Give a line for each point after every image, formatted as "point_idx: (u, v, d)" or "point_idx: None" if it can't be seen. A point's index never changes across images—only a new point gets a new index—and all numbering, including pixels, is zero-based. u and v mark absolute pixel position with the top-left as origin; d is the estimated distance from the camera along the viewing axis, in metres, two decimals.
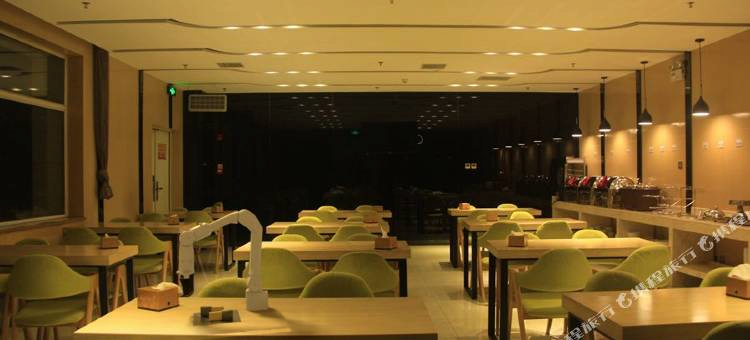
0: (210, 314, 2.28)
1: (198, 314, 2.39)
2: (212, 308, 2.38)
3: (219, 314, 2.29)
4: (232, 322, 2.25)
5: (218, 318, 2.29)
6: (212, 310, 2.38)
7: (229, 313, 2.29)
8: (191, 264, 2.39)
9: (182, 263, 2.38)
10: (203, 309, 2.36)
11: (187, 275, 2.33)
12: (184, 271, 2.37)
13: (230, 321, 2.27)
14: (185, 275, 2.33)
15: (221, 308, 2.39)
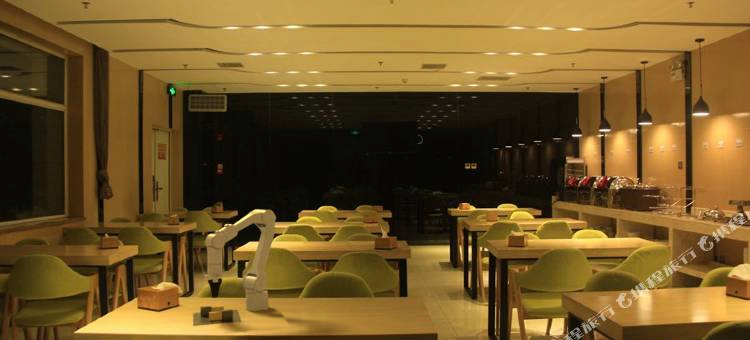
0: (210, 314, 2.28)
1: (198, 314, 2.39)
2: (212, 308, 2.38)
3: (219, 314, 2.29)
4: (232, 322, 2.25)
5: (218, 318, 2.29)
6: (212, 310, 2.38)
7: (229, 313, 2.29)
8: (220, 268, 2.33)
9: (211, 266, 2.32)
10: (203, 309, 2.36)
11: (216, 279, 2.28)
12: (213, 275, 2.32)
13: (230, 321, 2.27)
14: (214, 279, 2.28)
15: (221, 308, 2.39)
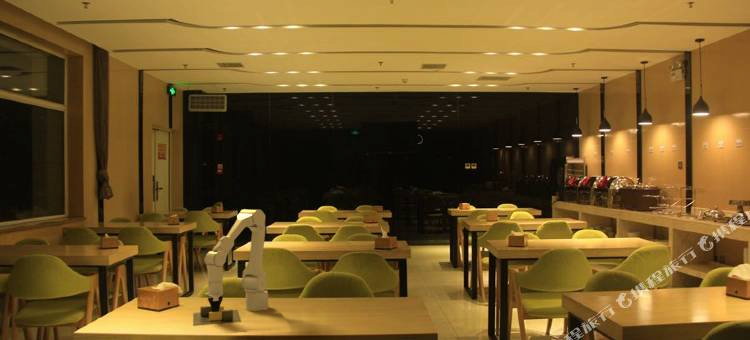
0: (210, 314, 2.28)
1: (198, 314, 2.39)
2: None
3: (219, 314, 2.29)
4: (232, 322, 2.25)
5: (218, 318, 2.29)
6: None
7: (229, 313, 2.29)
8: (220, 285, 2.30)
9: (211, 285, 2.28)
10: (203, 309, 2.36)
11: (217, 297, 2.24)
12: (213, 293, 2.28)
13: (230, 321, 2.27)
14: (214, 297, 2.24)
15: (221, 308, 2.39)
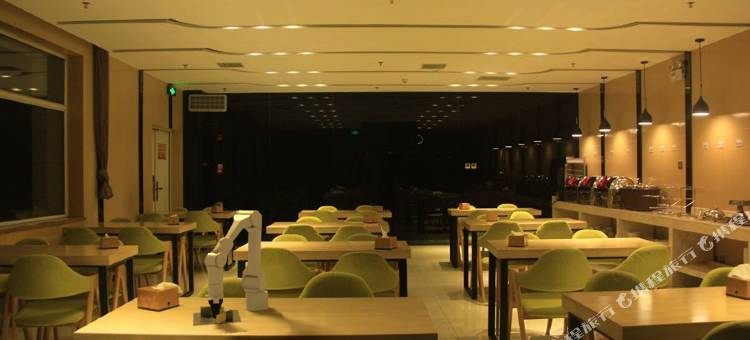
0: (219, 316, 2.24)
1: (198, 314, 2.39)
2: None
3: (224, 315, 2.28)
4: (232, 322, 2.25)
5: (224, 319, 2.27)
6: None
7: (232, 312, 2.31)
8: (220, 287, 2.26)
9: (211, 286, 2.24)
10: (203, 309, 2.36)
11: (217, 300, 2.20)
12: (213, 295, 2.24)
13: (230, 321, 2.27)
14: (215, 300, 2.20)
15: (221, 308, 2.39)
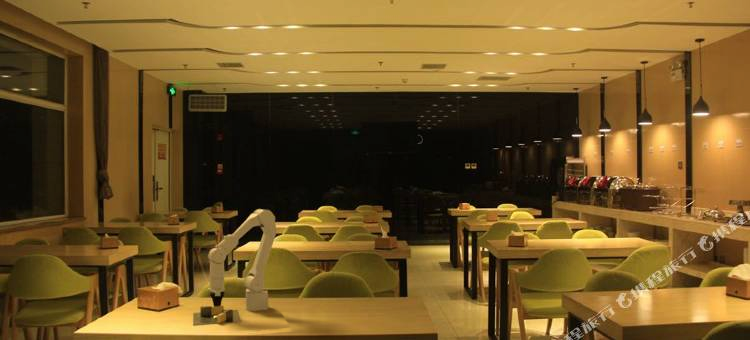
0: (220, 316, 2.24)
1: (198, 314, 2.39)
2: (212, 308, 2.38)
3: (225, 315, 2.28)
4: (232, 322, 2.25)
5: (224, 319, 2.27)
6: (212, 310, 2.38)
7: (232, 312, 2.31)
8: (222, 281, 2.39)
9: (213, 280, 2.38)
10: (203, 309, 2.36)
11: (218, 293, 2.34)
12: (215, 288, 2.38)
13: (230, 321, 2.27)
14: (216, 293, 2.33)
15: (221, 308, 2.39)
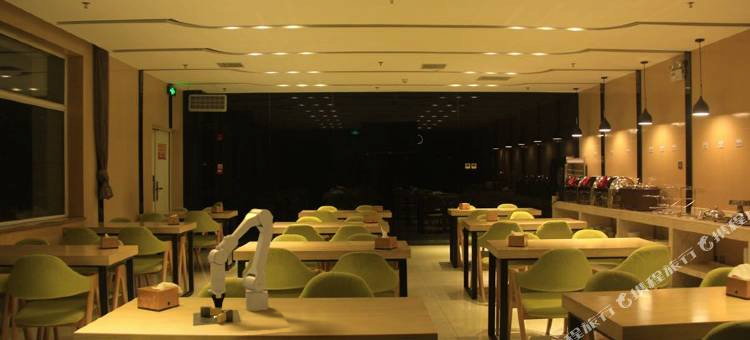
0: (220, 316, 2.24)
1: (198, 314, 2.39)
2: (210, 309, 2.37)
3: (225, 315, 2.28)
4: (232, 322, 2.25)
5: (224, 319, 2.27)
6: (210, 311, 2.37)
7: (232, 312, 2.31)
8: (223, 283, 2.36)
9: (214, 282, 2.35)
10: (201, 309, 2.36)
11: (219, 295, 2.31)
12: (216, 290, 2.35)
13: (230, 321, 2.27)
14: (217, 295, 2.31)
15: (218, 310, 2.36)
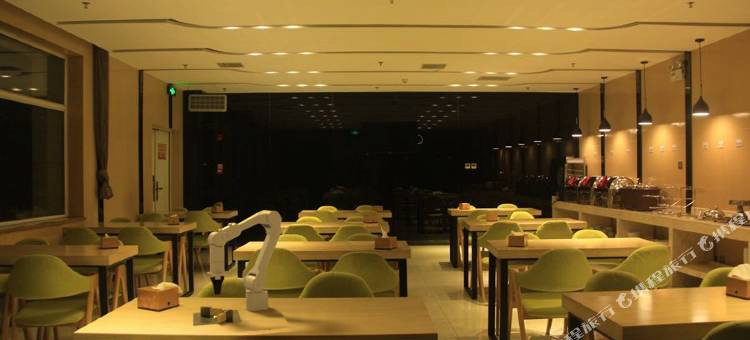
0: (220, 316, 2.24)
1: (198, 314, 2.39)
2: (210, 309, 2.37)
3: (225, 315, 2.28)
4: (232, 322, 2.25)
5: (224, 319, 2.27)
6: (210, 311, 2.37)
7: (232, 312, 2.31)
8: (222, 265, 2.37)
9: (213, 264, 2.36)
10: (201, 309, 2.36)
11: (219, 276, 2.32)
12: (215, 272, 2.35)
13: (230, 321, 2.27)
14: (217, 276, 2.31)
15: (218, 310, 2.36)
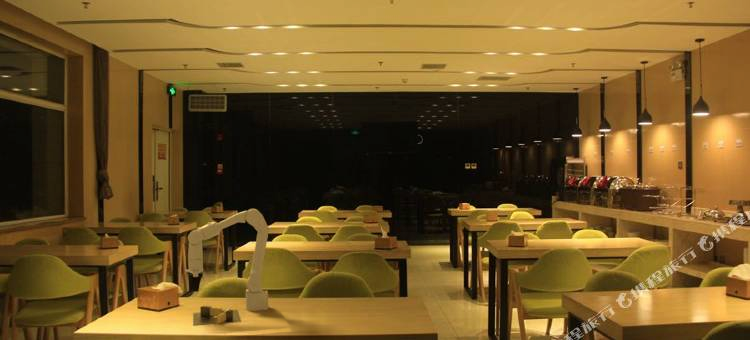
0: (220, 316, 2.24)
1: (198, 314, 2.39)
2: (210, 309, 2.37)
3: (225, 315, 2.28)
4: (232, 322, 2.25)
5: (224, 319, 2.27)
6: (210, 311, 2.37)
7: (232, 312, 2.31)
8: (200, 263, 2.42)
9: (191, 262, 2.41)
10: (201, 309, 2.36)
11: (196, 273, 2.37)
12: (193, 269, 2.41)
13: (230, 321, 2.27)
14: (194, 273, 2.36)
15: (218, 310, 2.36)
